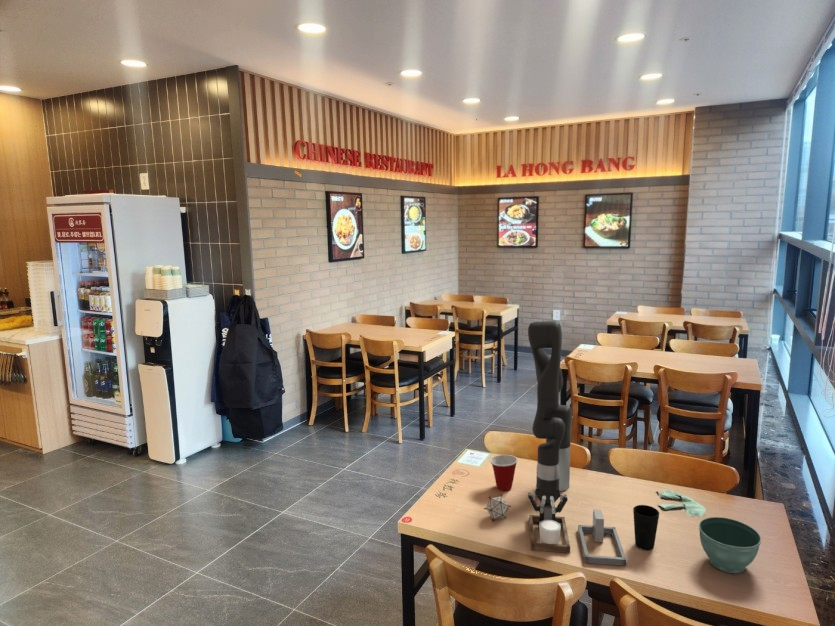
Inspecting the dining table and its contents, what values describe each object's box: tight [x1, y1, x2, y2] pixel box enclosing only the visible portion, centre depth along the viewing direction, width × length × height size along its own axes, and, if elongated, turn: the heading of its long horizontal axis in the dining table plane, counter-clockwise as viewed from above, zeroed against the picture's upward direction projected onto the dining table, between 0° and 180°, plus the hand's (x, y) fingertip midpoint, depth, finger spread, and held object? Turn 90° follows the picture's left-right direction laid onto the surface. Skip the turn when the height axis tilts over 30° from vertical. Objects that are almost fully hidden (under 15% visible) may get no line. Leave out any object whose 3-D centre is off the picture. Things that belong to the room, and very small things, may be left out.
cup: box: [632, 504, 660, 552], centre depth 174 cm, size 8×8×12 cm
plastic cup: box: [489, 454, 518, 492], centre depth 215 cm, size 11×11×12 cm
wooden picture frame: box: [528, 503, 571, 554], centre depth 181 cm, size 18×12×8 cm, turn 171°
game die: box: [483, 493, 512, 522], centre depth 193 cm, size 9×8×10 cm
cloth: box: [655, 488, 707, 518], centre depth 201 cm, size 20×22×2 cm
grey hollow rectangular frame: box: [577, 508, 627, 567], centre depth 174 cm, size 18×12×8 cm, turn 171°
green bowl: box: [698, 516, 762, 574], centre depth 164 cm, size 16×16×11 cm
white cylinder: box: [538, 520, 562, 544], centre depth 176 cm, size 7×7×7 cm
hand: (547, 522), depth 187 cm, fingers closed on wooden picture frame, 2 cm apart
